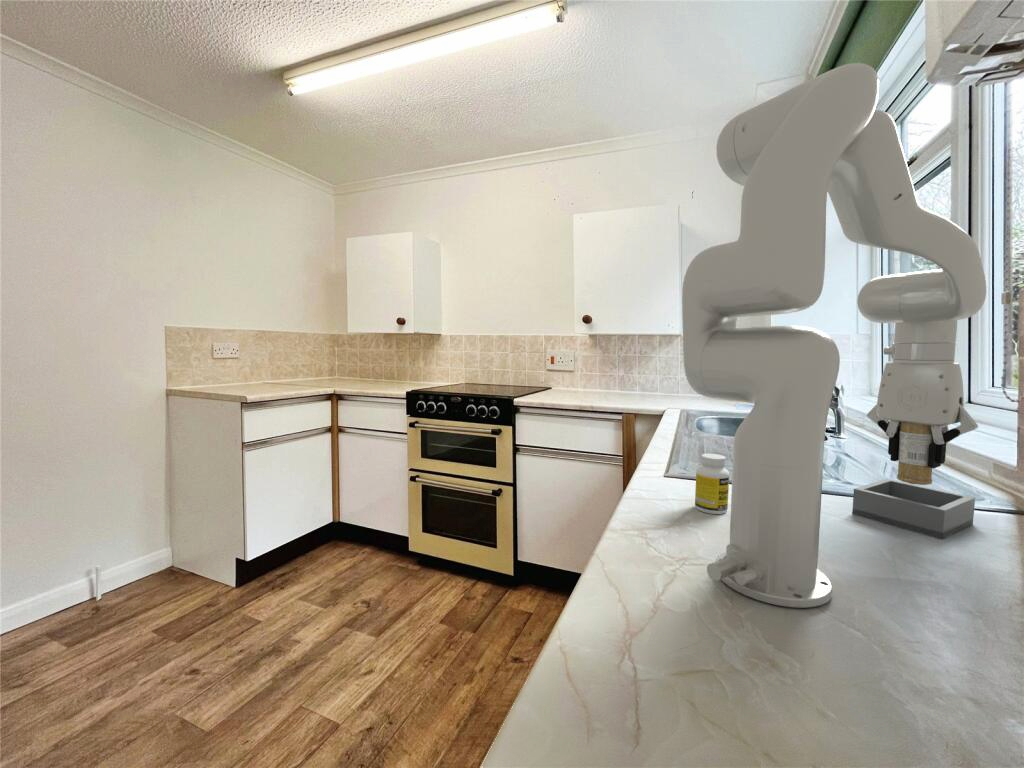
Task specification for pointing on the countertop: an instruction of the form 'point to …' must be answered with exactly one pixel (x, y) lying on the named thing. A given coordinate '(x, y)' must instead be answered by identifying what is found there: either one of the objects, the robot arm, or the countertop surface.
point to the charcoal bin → (914, 507)
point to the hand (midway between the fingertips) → (915, 462)
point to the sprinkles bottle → (914, 453)
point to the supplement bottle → (712, 484)
